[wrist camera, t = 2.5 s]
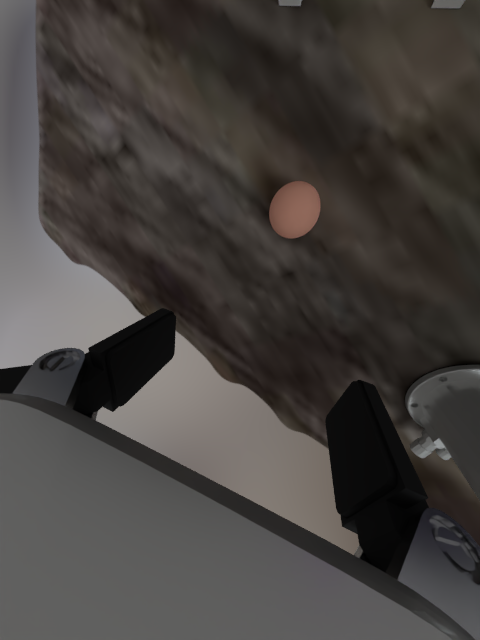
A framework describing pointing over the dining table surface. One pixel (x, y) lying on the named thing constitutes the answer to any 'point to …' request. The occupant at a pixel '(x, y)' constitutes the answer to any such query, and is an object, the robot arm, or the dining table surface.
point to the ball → (294, 209)
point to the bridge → (439, 2)
